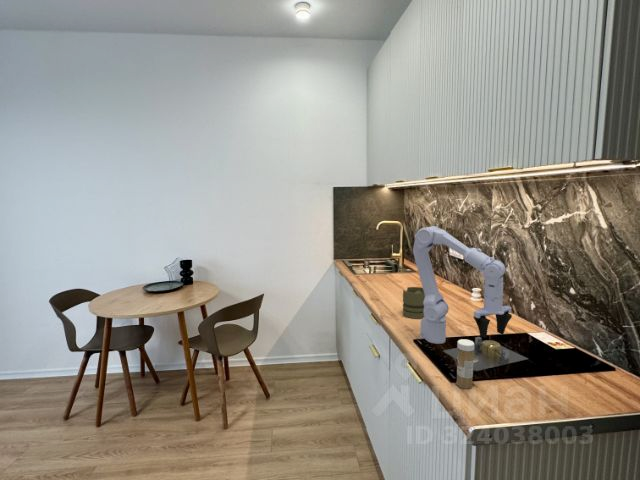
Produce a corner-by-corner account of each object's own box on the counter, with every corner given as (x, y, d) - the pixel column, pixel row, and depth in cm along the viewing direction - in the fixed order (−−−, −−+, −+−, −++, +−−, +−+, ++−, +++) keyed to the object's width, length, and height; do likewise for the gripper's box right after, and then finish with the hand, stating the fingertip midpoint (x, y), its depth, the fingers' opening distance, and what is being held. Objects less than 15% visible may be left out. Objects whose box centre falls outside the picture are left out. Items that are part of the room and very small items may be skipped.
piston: (399, 291, 166) (408, 285, 176) (399, 316, 168) (407, 309, 177) (423, 294, 160) (431, 288, 170) (423, 321, 162) (431, 313, 171)
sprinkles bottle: (453, 381, 110) (454, 339, 108) (468, 380, 110) (469, 338, 108) (460, 389, 105) (462, 345, 104) (475, 388, 106) (477, 344, 104)
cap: (475, 349, 129) (475, 339, 129) (487, 346, 131) (487, 337, 131) (495, 359, 121) (495, 349, 121) (507, 357, 123) (508, 347, 123)
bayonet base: (442, 353, 129) (442, 341, 129) (490, 343, 137) (491, 332, 136) (475, 373, 114) (476, 360, 114) (528, 361, 122) (528, 349, 121)
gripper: (485, 302, 117) (484, 342, 119) (519, 297, 122) (517, 335, 124) (469, 296, 124) (468, 335, 126) (502, 291, 129) (500, 328, 131)
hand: (491, 335), depth 125 cm, fingers open, 7 cm apart
